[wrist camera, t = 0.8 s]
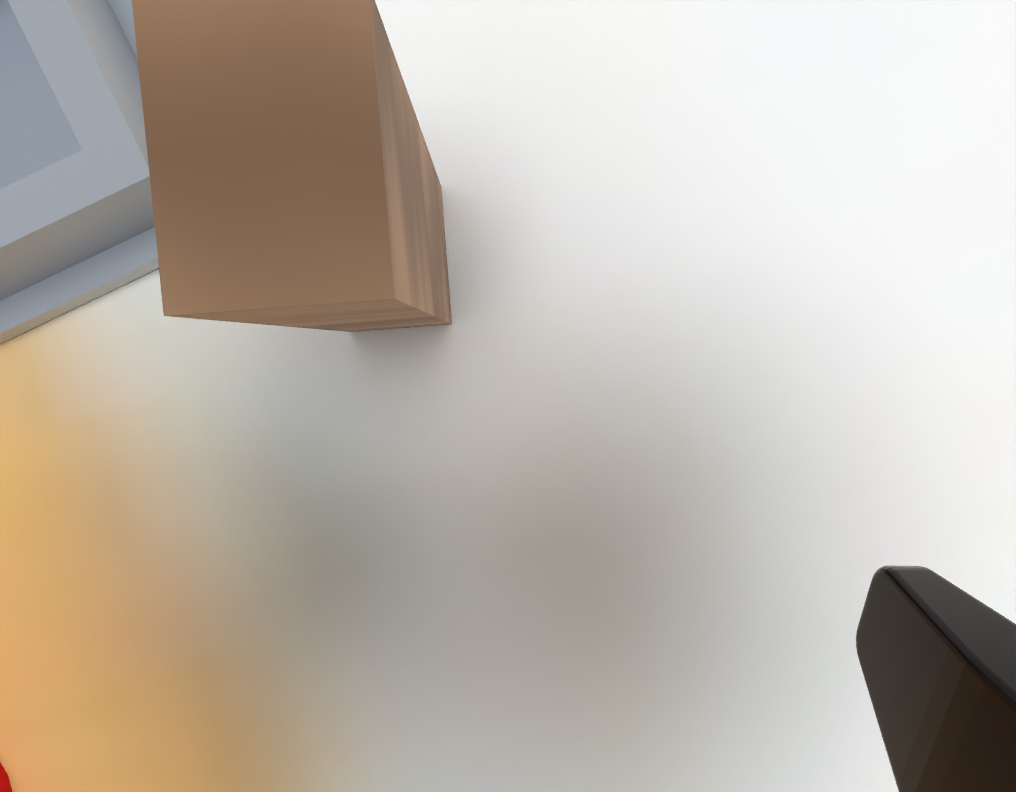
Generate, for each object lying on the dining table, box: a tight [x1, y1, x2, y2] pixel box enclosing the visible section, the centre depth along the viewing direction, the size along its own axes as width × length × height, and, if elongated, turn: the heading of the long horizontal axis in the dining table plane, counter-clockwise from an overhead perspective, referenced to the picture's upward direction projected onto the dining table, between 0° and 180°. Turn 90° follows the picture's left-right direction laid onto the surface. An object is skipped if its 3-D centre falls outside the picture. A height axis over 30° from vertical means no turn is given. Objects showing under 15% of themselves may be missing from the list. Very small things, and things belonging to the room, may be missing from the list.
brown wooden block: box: [132, 0, 452, 332], centre depth 17 cm, size 4×3×13 cm
